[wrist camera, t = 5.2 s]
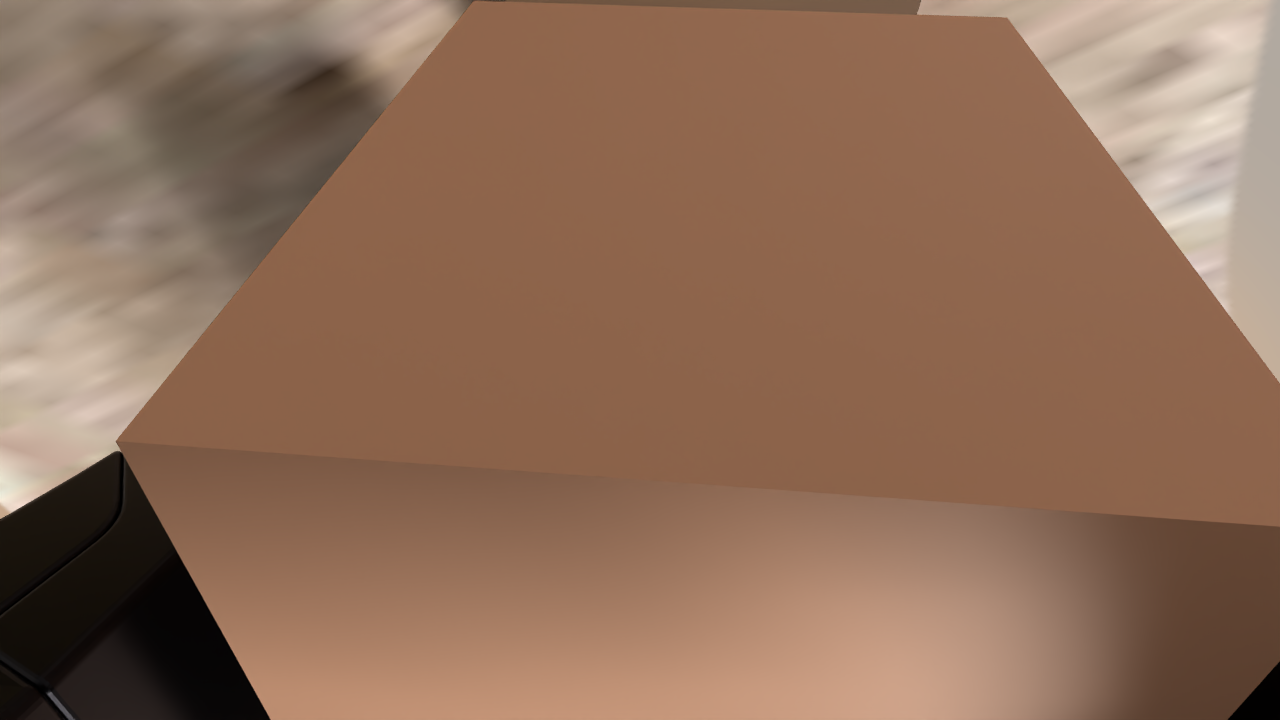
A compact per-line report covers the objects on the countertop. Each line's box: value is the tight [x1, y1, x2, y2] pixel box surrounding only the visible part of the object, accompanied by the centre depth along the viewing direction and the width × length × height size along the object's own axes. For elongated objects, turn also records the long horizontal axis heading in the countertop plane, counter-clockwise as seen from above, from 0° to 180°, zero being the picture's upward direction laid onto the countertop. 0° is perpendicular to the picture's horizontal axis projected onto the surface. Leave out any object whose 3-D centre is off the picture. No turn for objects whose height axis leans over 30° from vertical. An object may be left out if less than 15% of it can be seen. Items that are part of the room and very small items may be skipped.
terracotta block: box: [116, 1, 1280, 720], centre depth 7 cm, size 5×5×6 cm
